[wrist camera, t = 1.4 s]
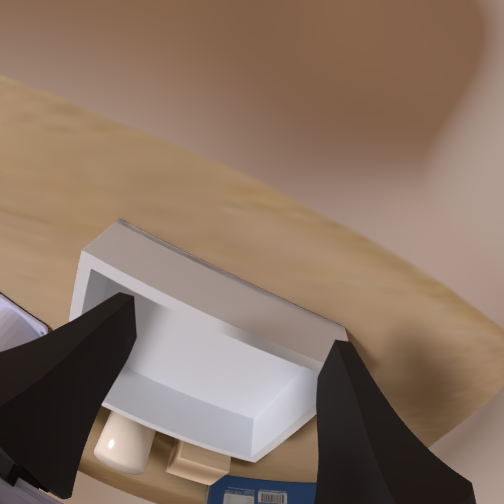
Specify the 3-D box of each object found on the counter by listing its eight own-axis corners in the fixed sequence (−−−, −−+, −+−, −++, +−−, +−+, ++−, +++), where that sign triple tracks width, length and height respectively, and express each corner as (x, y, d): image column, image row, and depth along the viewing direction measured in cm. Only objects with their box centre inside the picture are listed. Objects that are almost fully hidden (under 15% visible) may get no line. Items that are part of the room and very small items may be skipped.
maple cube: (215, 449, 31) (210, 485, 27) (175, 435, 30) (165, 471, 26) (233, 432, 29) (229, 472, 25) (189, 417, 28) (179, 456, 24)
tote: (344, 327, 22) (357, 375, 18) (257, 420, 28) (254, 462, 23) (119, 218, 20) (81, 249, 15) (86, 346, 25) (62, 383, 21)
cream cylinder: (154, 428, 30) (138, 479, 24) (113, 409, 29) (92, 458, 23) (166, 408, 28) (149, 465, 22) (120, 387, 27) (96, 442, 21)
